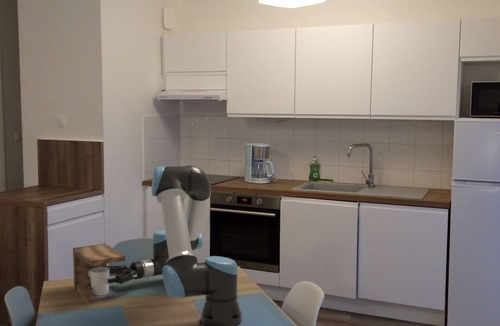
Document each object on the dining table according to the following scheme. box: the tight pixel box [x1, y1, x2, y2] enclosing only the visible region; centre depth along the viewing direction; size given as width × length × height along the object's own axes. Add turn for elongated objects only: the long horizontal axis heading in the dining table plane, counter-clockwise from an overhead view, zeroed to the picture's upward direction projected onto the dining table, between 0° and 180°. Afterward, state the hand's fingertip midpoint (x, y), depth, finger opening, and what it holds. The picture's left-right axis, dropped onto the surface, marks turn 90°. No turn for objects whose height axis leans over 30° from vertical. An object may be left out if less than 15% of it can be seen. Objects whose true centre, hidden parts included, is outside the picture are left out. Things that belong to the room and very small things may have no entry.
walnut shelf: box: [72, 243, 126, 304], centre depth 232 cm, size 14×24×18 cm, turn 34°
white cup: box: [90, 267, 110, 295], centre depth 232 cm, size 8×8×10 cm
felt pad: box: [89, 287, 119, 301], centre depth 232 cm, size 11×11×1 cm
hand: (93, 277), depth 230 cm, fingers open, 13 cm apart
